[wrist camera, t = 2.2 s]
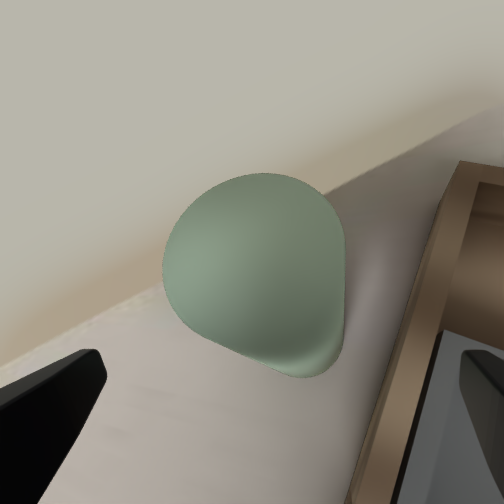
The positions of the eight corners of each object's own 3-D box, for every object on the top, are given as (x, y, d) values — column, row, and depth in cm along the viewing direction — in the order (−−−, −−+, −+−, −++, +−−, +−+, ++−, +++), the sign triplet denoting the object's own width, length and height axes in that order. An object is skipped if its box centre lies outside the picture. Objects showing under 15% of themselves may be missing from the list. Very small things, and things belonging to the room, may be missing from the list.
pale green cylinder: (325, 394, 16) (299, 385, 6) (246, 354, 18) (130, 299, 8) (355, 311, 17) (373, 195, 7) (279, 282, 19) (214, 159, 9)
